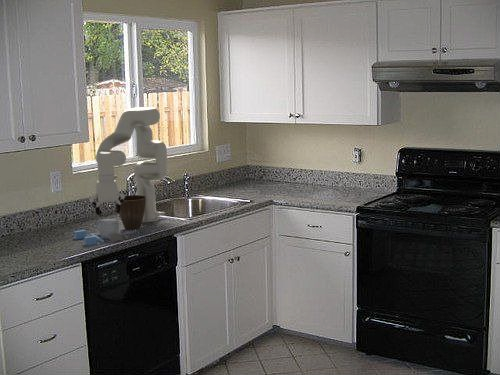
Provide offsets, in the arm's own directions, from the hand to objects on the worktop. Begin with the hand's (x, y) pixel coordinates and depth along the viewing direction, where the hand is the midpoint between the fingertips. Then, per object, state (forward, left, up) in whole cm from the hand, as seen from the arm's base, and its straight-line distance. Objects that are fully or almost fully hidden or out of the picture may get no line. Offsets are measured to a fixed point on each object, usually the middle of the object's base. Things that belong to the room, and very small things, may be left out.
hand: (108, 213), depth 335 cm
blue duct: (+10, 0, -12) cm, 15 cm away
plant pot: (-16, -12, -12) cm, 24 cm away
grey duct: (-2, 0, -12) cm, 12 cm away
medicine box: (0, 0, -12) cm, 12 cm away
